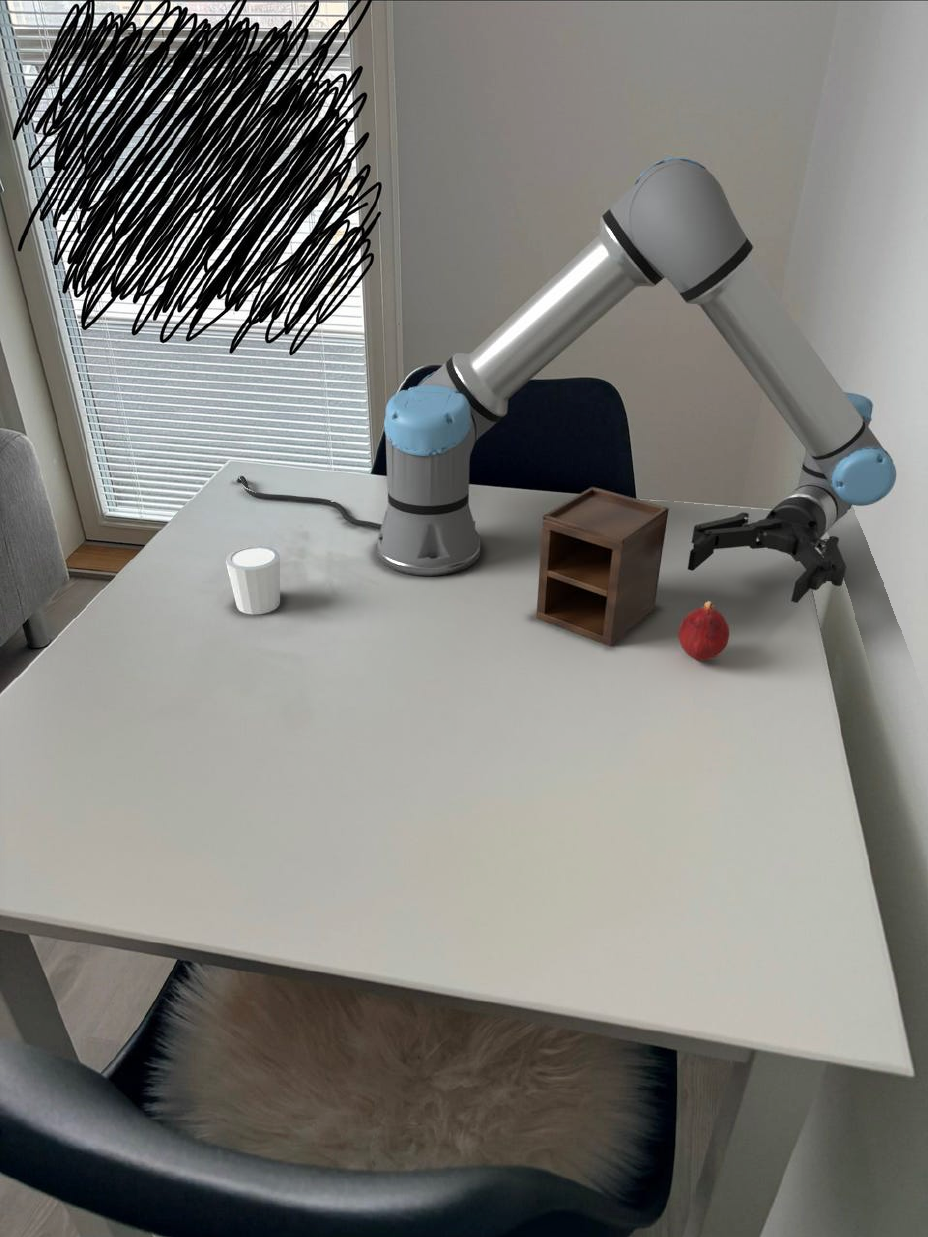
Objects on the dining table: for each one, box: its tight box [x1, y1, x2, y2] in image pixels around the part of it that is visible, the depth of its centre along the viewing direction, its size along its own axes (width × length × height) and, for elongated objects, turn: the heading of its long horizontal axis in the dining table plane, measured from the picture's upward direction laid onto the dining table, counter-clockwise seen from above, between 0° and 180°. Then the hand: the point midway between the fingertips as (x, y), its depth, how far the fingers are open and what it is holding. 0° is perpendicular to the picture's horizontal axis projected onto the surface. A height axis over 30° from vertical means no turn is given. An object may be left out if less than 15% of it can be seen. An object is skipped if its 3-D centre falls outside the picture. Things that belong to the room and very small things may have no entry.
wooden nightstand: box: [535, 486, 670, 647], centre depth 112 cm, size 11×12×15 cm
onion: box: [677, 600, 730, 662], centre depth 104 cm, size 6×6×8 cm
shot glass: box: [225, 545, 281, 616], centre depth 115 cm, size 7×7×7 cm
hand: (742, 576), depth 109 cm, fingers open, 13 cm apart
